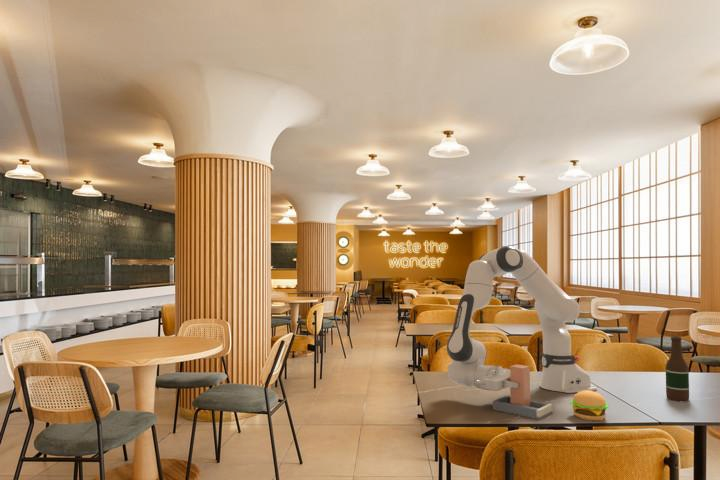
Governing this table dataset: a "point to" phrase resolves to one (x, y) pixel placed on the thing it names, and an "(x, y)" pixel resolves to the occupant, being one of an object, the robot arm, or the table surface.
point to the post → (520, 385)
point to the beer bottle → (677, 373)
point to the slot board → (523, 408)
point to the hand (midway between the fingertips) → (522, 383)
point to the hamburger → (589, 405)
